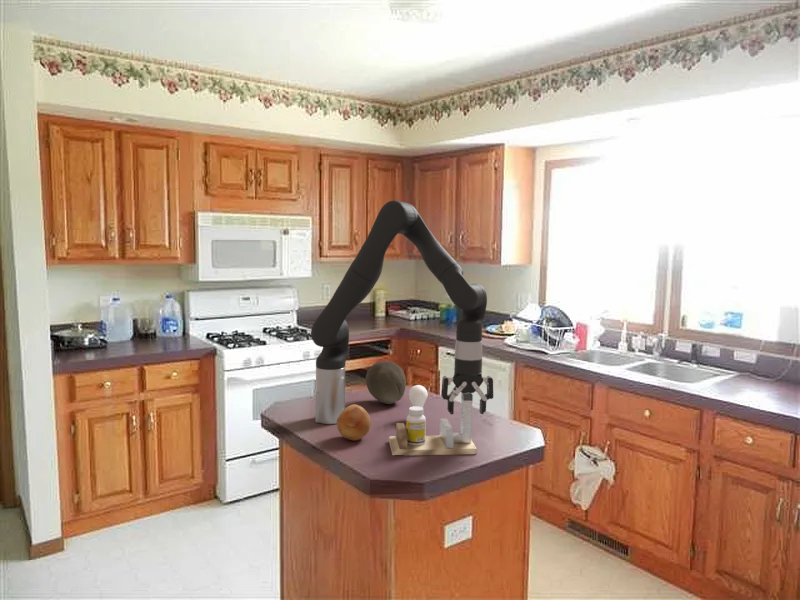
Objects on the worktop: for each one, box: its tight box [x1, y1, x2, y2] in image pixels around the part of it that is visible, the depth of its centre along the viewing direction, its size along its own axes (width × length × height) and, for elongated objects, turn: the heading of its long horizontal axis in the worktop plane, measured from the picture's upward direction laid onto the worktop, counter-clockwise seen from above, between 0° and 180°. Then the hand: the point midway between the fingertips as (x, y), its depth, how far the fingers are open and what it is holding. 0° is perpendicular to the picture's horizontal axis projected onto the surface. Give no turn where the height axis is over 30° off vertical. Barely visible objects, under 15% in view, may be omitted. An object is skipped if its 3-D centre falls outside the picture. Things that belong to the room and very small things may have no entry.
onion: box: [336, 403, 372, 442], centre depth 166 cm, size 10×10×10 cm
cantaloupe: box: [365, 360, 407, 405], centre depth 203 cm, size 14×14×15 cm
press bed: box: [388, 422, 478, 456], centre depth 161 cm, size 23×11×6 cm, turn 96°
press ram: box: [439, 392, 474, 448], centre depth 161 cm, size 8×10×14 cm
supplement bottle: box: [405, 405, 427, 446], centre depth 160 cm, size 5×5×10 cm
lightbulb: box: [408, 384, 429, 409], centre depth 186 cm, size 6×6×11 cm
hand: (466, 413), depth 161 cm, fingers open, 8 cm apart
